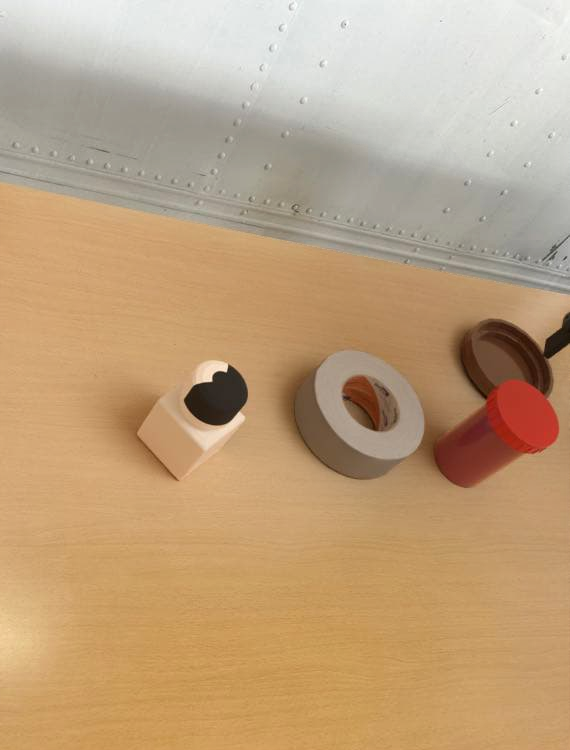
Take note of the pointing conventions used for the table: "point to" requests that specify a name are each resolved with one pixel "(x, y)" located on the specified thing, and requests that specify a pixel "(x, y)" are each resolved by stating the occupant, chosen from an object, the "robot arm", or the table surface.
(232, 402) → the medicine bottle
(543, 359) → the dish
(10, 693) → the table surface
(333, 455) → the tape roll
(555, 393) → the table surface
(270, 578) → the table surface
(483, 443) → the jam jar
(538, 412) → the lid
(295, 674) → the table surface
